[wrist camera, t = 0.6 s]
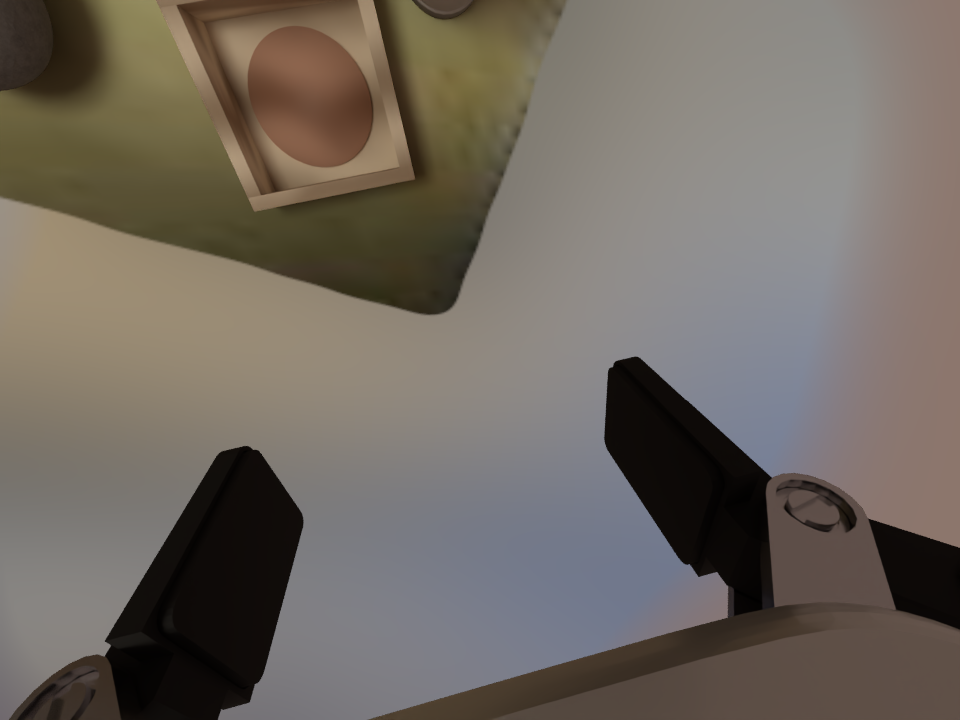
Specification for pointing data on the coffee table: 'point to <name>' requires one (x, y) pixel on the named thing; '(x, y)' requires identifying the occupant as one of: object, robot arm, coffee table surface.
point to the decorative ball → (23, 41)
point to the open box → (295, 94)
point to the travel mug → (443, 7)
